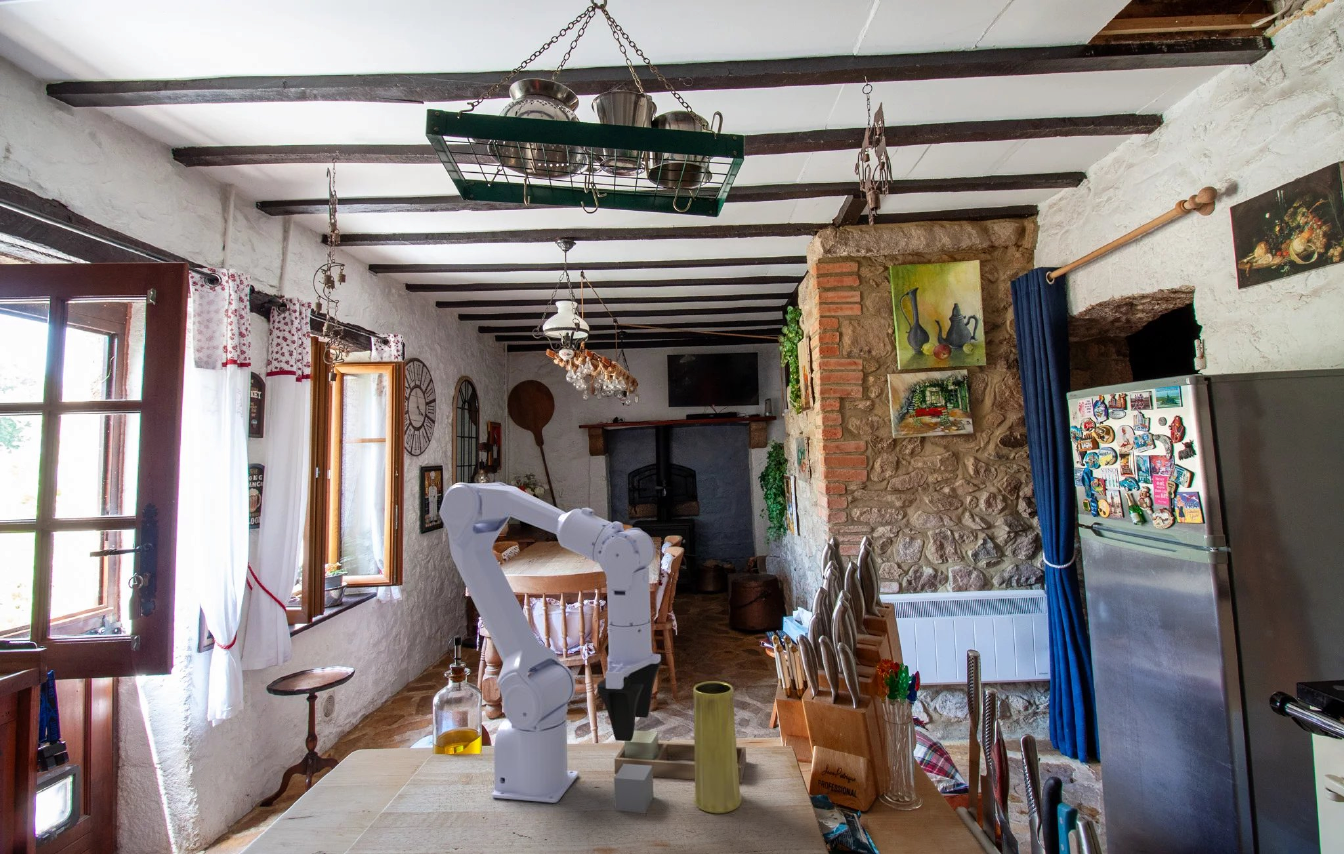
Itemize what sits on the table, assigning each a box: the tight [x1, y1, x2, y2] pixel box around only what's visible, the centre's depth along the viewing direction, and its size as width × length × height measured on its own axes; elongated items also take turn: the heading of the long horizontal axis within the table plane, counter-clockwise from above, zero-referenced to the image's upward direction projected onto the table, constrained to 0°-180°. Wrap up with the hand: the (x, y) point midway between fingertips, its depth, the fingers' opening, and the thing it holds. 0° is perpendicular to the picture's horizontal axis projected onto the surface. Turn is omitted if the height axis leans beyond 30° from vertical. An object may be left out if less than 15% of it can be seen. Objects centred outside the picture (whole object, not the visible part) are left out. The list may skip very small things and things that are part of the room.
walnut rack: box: [614, 729, 747, 784], centre depth 88 cm, size 18×6×4 cm, turn 77°
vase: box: [692, 680, 742, 814], centre depth 79 cm, size 6×6×14 cm
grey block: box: [613, 764, 654, 814], centre depth 79 cm, size 4×4×4 cm
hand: (632, 727), depth 80 cm, fingers open, 7 cm apart
